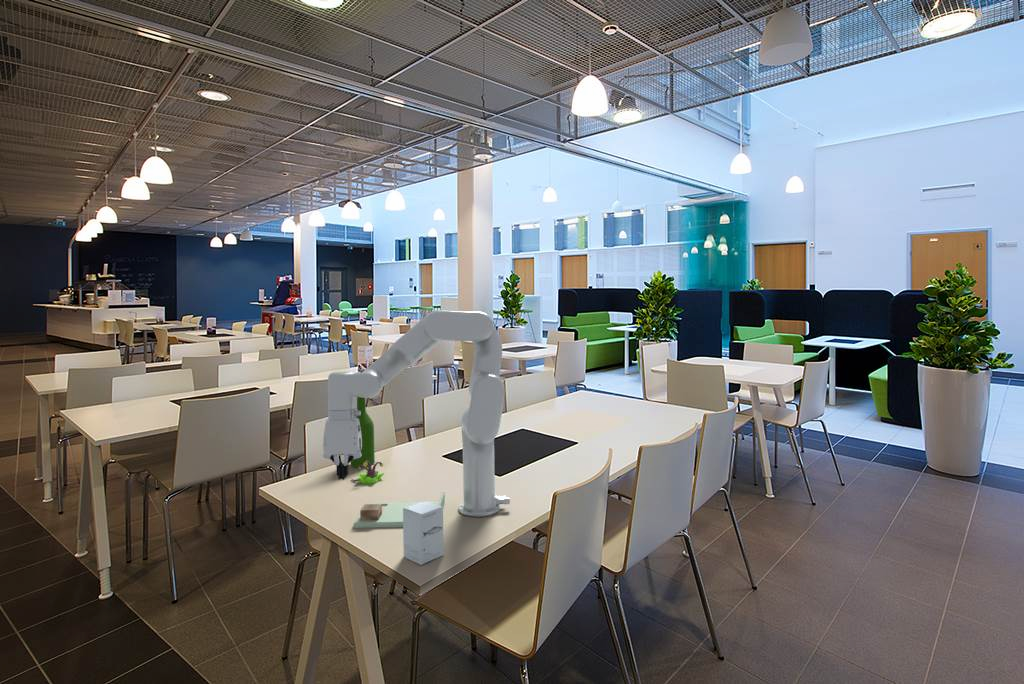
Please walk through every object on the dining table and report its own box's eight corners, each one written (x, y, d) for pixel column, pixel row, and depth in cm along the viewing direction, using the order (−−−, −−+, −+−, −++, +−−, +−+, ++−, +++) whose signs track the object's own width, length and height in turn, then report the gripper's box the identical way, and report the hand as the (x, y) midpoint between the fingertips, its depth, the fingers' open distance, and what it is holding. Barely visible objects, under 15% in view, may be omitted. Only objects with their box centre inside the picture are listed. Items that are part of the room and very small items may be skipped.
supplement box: (421, 566, 127) (420, 514, 127) (402, 557, 132) (401, 507, 132) (444, 555, 133) (443, 506, 132) (426, 547, 138) (425, 499, 137)
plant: (327, 496, 181) (326, 464, 181) (363, 480, 199) (363, 450, 199) (376, 503, 174) (375, 469, 173) (409, 485, 192) (408, 455, 191)
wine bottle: (377, 472, 208) (375, 390, 207) (371, 478, 199) (369, 393, 198) (354, 472, 208) (352, 390, 207) (348, 479, 199) (345, 393, 198)
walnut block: (381, 513, 156) (381, 503, 156) (378, 520, 151) (377, 509, 151) (364, 514, 156) (364, 504, 155) (360, 520, 150) (360, 510, 150)
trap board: (444, 509, 166) (444, 492, 166) (439, 529, 150) (439, 510, 150) (367, 511, 165) (367, 493, 165) (354, 531, 149) (353, 512, 149)
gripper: (371, 412, 156) (371, 474, 156) (320, 412, 155) (320, 474, 156) (365, 417, 148) (365, 482, 149) (311, 417, 148) (311, 482, 148)
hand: (342, 478), depth 152 cm, fingers closed
